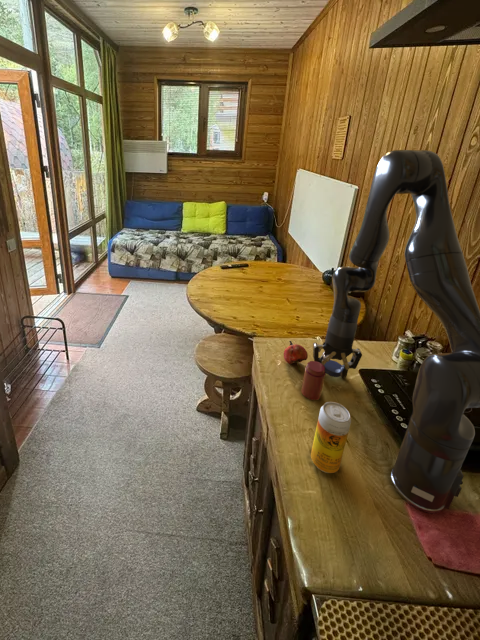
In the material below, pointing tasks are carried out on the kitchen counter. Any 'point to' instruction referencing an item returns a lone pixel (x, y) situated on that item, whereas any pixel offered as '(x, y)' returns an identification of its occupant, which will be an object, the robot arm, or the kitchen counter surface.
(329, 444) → the beer can
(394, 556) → the kitchen counter surface
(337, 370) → the lid
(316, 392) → the jar
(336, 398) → the kitchen counter surface
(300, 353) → the pomegranate
